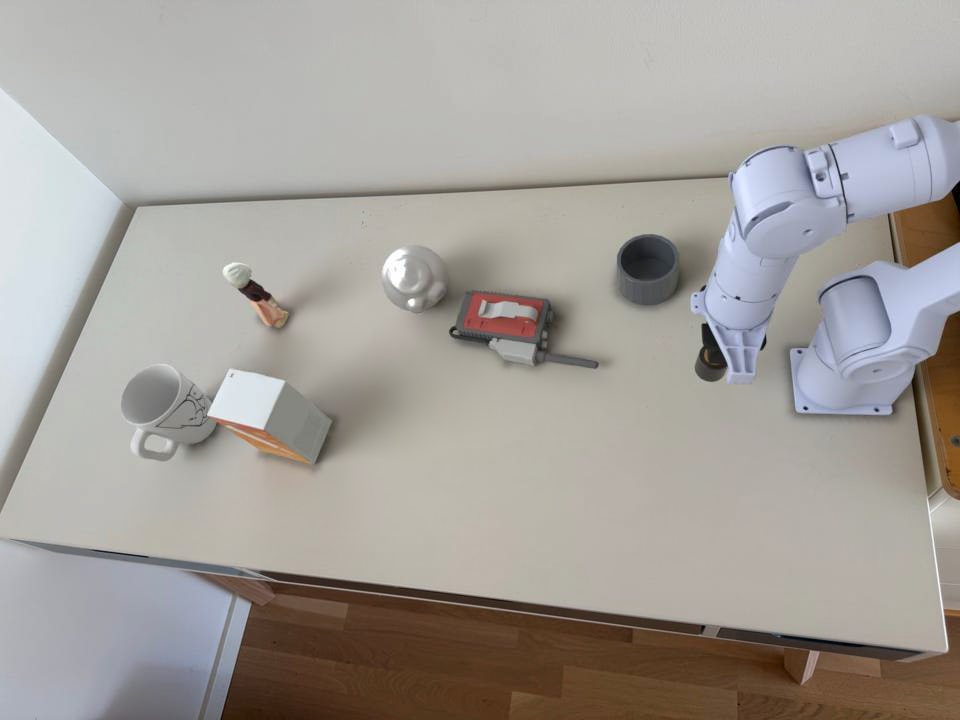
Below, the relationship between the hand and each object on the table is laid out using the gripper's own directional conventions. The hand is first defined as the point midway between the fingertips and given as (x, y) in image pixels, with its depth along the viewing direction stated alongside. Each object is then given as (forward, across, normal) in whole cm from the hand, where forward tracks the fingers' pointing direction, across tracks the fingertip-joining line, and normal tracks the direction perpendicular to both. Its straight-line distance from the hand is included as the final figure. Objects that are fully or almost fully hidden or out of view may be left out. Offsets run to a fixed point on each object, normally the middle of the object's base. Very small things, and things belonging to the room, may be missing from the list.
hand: (718, 350), depth 66 cm
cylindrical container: (+11, -16, -6) cm, 20 cm away
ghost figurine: (+14, -14, -36) cm, 41 cm away
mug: (+17, +7, -66) cm, 68 cm away
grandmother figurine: (+16, -11, -58) cm, 61 cm away
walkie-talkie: (+12, -8, -21) cm, 26 cm away
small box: (+15, +7, -50) cm, 53 cm away
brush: (+4, 0, 0) cm, 4 cm away
